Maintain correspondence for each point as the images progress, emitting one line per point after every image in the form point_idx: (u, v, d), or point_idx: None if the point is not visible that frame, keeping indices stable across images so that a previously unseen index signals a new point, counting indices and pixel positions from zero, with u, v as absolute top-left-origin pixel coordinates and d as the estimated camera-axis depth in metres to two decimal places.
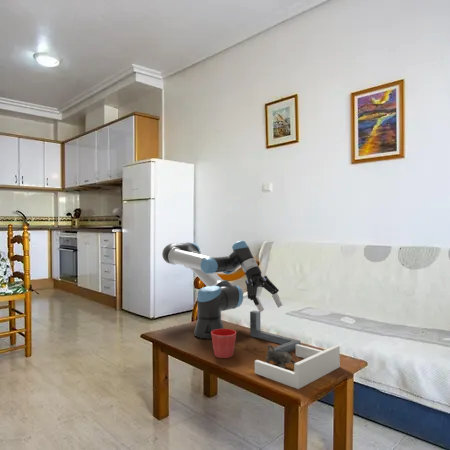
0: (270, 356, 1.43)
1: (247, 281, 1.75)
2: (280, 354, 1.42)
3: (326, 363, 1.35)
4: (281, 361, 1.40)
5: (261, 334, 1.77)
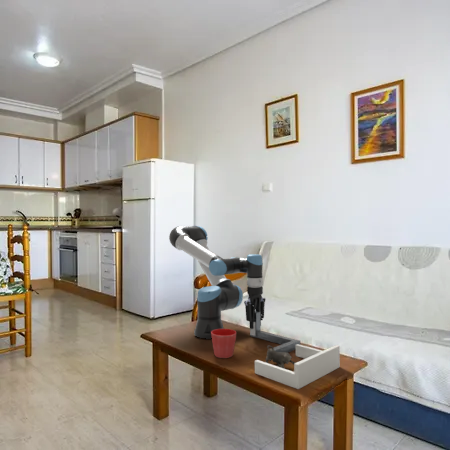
0: (270, 356, 1.43)
1: (246, 304, 1.77)
2: (279, 354, 1.42)
3: (326, 363, 1.35)
4: (281, 361, 1.40)
5: (261, 334, 1.77)
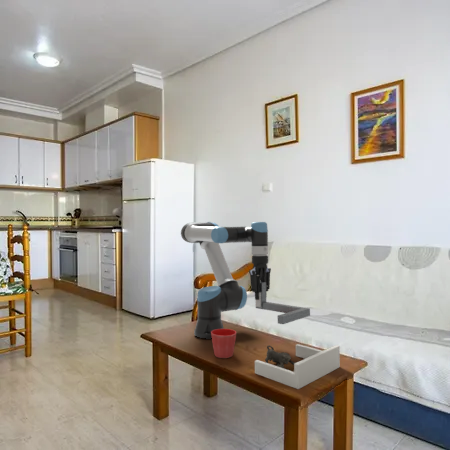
0: (269, 356, 1.43)
1: (251, 273, 1.68)
2: (279, 354, 1.41)
3: (326, 363, 1.35)
4: (280, 361, 1.40)
5: (267, 305, 1.68)
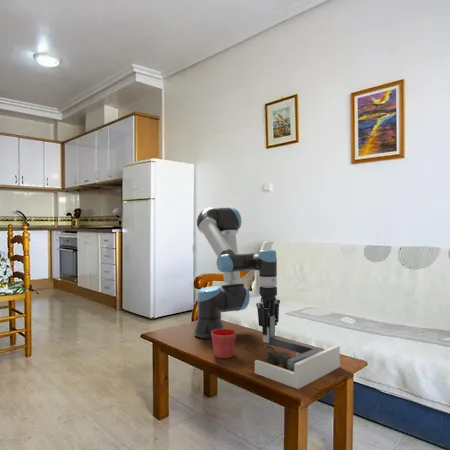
0: (269, 356, 1.43)
1: (259, 306, 1.54)
2: (279, 354, 1.41)
3: (326, 363, 1.35)
4: (280, 361, 1.40)
5: (276, 341, 1.54)
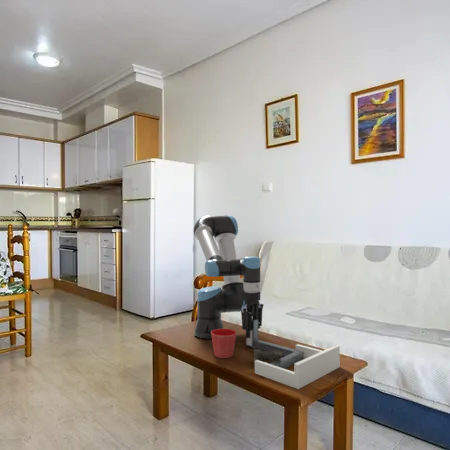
0: (258, 356, 1.43)
1: (242, 311, 1.61)
2: (268, 353, 1.43)
3: (326, 363, 1.35)
4: (271, 359, 1.42)
5: (259, 344, 1.62)
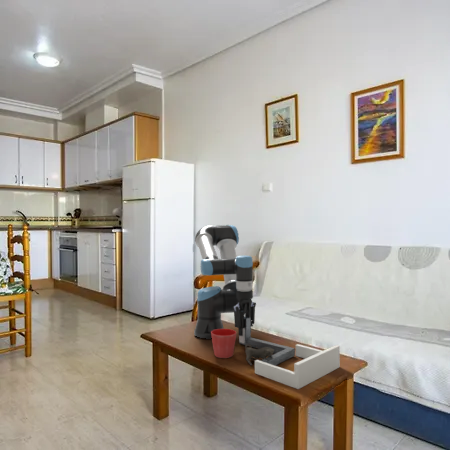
0: (250, 354, 1.45)
1: (235, 309, 1.65)
2: (260, 350, 1.46)
3: (326, 363, 1.35)
4: (263, 356, 1.45)
5: (251, 341, 1.65)
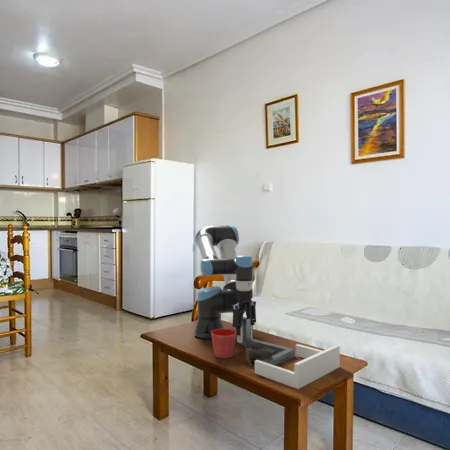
0: (250, 355, 1.45)
1: (234, 308, 1.64)
2: (260, 351, 1.46)
3: (326, 363, 1.35)
4: (263, 357, 1.45)
5: (251, 342, 1.65)
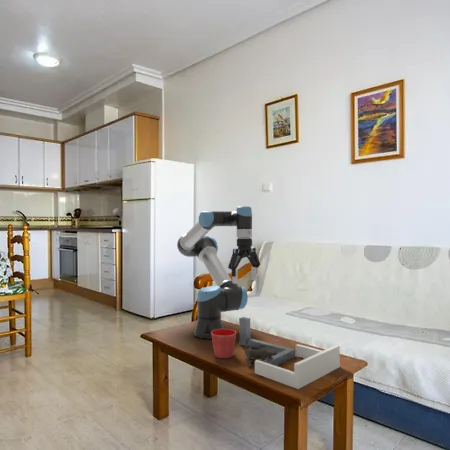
0: (250, 355, 1.45)
1: (234, 251, 1.76)
2: (260, 351, 1.45)
3: (326, 363, 1.35)
4: (263, 357, 1.45)
5: (251, 342, 1.65)
